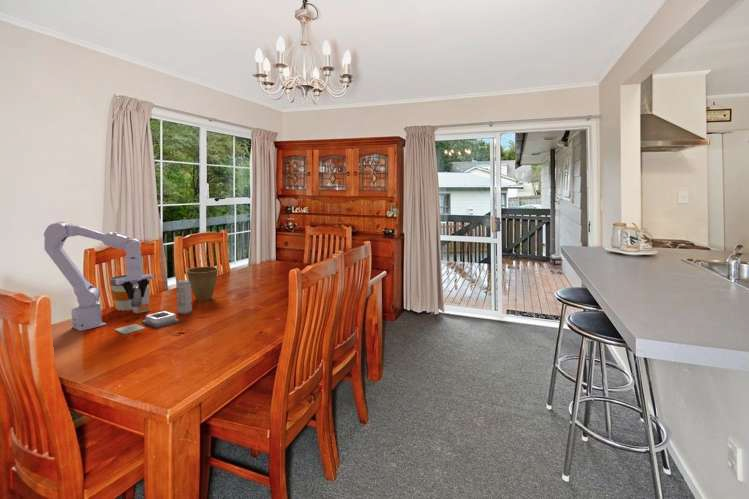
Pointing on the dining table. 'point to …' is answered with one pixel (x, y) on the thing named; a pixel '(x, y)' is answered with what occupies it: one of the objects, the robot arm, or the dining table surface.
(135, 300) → the key peg
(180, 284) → the energy drink can
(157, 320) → the socket block
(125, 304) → the reusable coffee cup
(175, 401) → the dining table surface
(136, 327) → the mat
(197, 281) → the plant pot
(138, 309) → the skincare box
